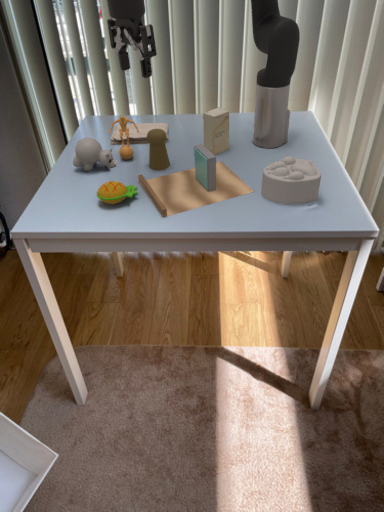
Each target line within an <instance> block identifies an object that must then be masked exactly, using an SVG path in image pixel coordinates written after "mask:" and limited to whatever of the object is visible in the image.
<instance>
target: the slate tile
mask: <svg viewBox="0 0 384 512" xmlns="http://www.w3.org/2000/svg"><path fill="white" fill-rule="evenodd" d="M193 150H194V151H193V152H194V168H195V177H196V179H197V180H198V181H199V182H200V183H201V184H202V185H203V186H204V187H205V188H206V189H207V191H208V192H211V191H215V190H216V162H217V156H216V155H213V154H212V153H211V152H210V151H209V150H208V149H207V148H206V147H205V146H204V144H202V143H200V144H195V145H194V147H193Z"/></svg>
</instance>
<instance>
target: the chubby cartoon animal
mask: <svg viewBox="0 0 384 512" xmlns="http://www.w3.org/2000/svg"><path fill="white" fill-rule="evenodd" d="M112 150H113V148H109V149H107V150H106V149H105V150H103V148H102V145H101V144H100V142H99V141H98V140H96V139H95V138H93V137H83V138H81V139H80V140H78V141H77V143H76V145H75V156H74V158H73V161H72V165H73V166H74V167H76V168H81V167H82V166H83V167H82V168H83V169H84V171H86V172H92V171H93V170H94V167H95V166H96V165H97V163H99V164H100V165H101V166H104V167H107V168H108V169H112V168H116V167H117V165H118V164H119V160H118V159H116V160H115V159H114V155H113V153H112Z"/></svg>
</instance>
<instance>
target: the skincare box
mask: <svg viewBox="0 0 384 512" xmlns="http://www.w3.org/2000/svg"><path fill="white" fill-rule="evenodd" d="M202 116H203V117H202V118H203V121H202V123H203V145H204V146H205V147H206V148H207V149H208V150H209V151H210V152H211V153H212V154H213V155H214V156H217V155H219V154H221V153H223V152H226V151H227V150H229V149H230V148H229V147H230V146H229V143H230V110H228V109H225V108H222V107H216V108H213V109H210V110H208V111H205V112H203V113H202Z"/></svg>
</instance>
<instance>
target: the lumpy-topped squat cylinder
mask: <svg viewBox="0 0 384 512" xmlns="http://www.w3.org/2000/svg"><path fill="white" fill-rule="evenodd" d="M321 180H322V173H321V171H320V170H319V169H318V168H317V165H316V164H315V162H313V161H312V160H310V159H306V158H304V159H303V158H294V157H293V156H291V155H288V156H284V157H283V158H281V159H280V160H276V161H275V162H272V163H270V164H267V165H266V166H265V167H264V169H263V170H262V180H261V190H260V191H261V192H260V193H261V194H260V195H261V197H262V198H264V199H265V200H267V201H270V202H273V203H277V204H282V205H300V204H308V203H312V202H315V201H318V196H319V192H320V185H321ZM313 205H314V203H312V204H308V205H307V207H310V206H313Z"/></svg>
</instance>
